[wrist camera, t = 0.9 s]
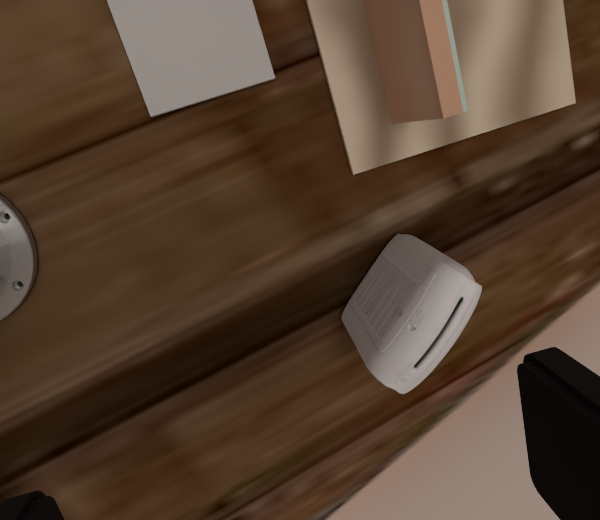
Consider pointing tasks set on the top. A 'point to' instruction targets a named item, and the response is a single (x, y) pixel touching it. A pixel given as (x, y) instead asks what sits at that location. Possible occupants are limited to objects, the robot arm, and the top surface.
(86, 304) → the top surface
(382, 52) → the tile
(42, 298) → the top surface
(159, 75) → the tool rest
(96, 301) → the top surface
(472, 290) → the photo printer
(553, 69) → the oak board
